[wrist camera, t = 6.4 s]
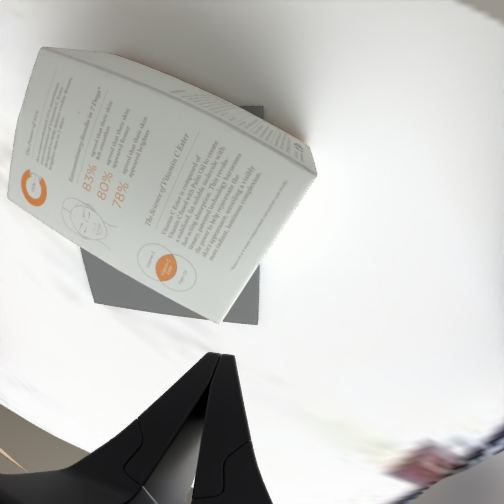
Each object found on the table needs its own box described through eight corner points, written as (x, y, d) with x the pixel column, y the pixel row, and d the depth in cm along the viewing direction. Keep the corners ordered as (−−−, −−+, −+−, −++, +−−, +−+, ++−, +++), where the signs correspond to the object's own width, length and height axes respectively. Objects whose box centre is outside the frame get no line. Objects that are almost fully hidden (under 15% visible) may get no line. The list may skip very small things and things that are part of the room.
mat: (262, 106, 16) (262, 106, 15) (258, 322, 22) (257, 325, 22) (63, 121, 17) (61, 122, 17) (96, 300, 24) (94, 302, 23)
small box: (313, 146, 16) (110, 49, 14) (322, 175, 10) (37, 43, 9) (241, 261, 20) (69, 166, 18) (219, 330, 14) (2, 199, 13)
